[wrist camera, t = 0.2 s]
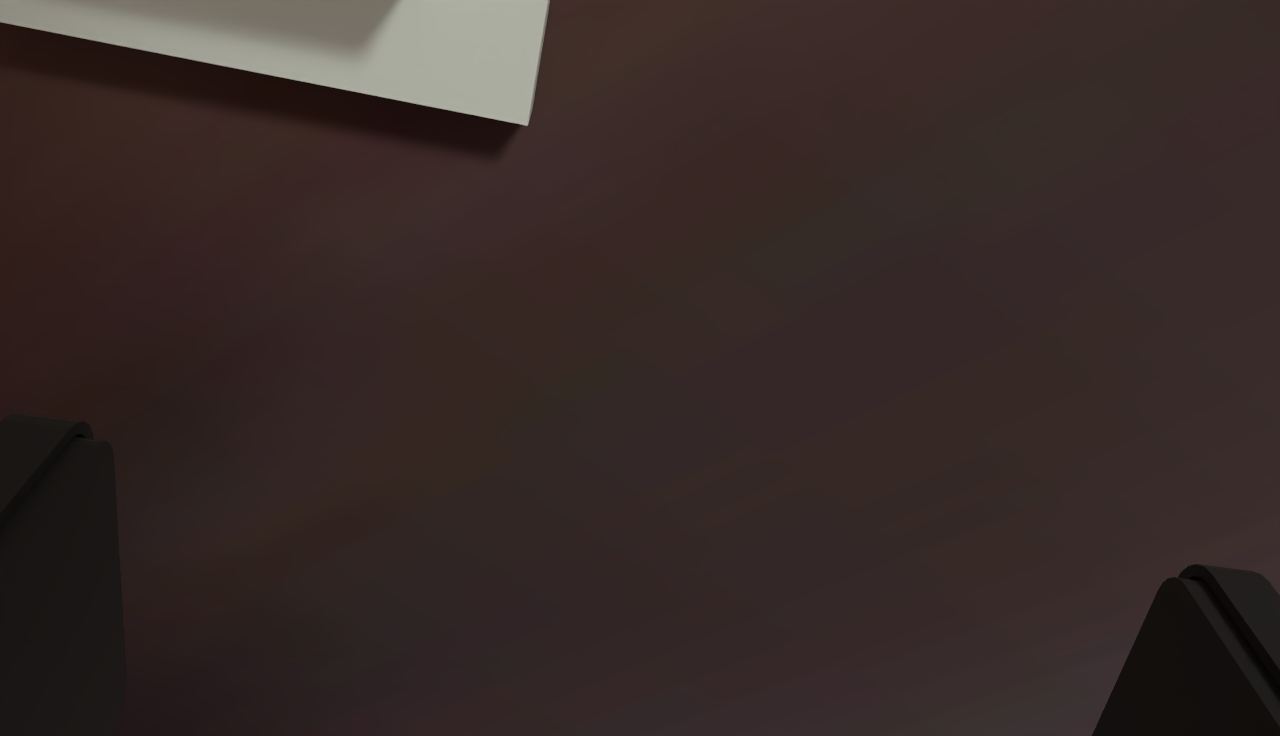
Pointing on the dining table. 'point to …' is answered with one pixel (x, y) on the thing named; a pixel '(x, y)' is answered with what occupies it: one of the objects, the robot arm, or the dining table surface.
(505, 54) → the base
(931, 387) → the dining table surface
